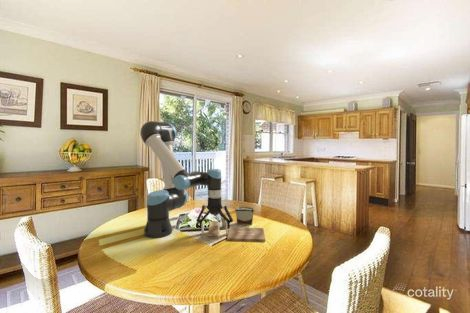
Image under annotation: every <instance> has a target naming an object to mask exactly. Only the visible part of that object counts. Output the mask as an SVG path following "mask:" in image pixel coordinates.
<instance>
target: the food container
mask: <svg viewBox="0 0 470 313" xmlns="http://www.w3.org/2000/svg"><path fill="white" fill-rule="evenodd" d="M234 212H235V215H236V216H235V217H236V225H250V226H252V225H253V219H254V213H255V209H254V208H253V207H251V206H244V205H243V206H238V207H236V208H235V209H234Z"/></svg>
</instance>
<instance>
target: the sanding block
mask: <svg viewBox="0 0 470 313" xmlns="http://www.w3.org/2000/svg"><path fill="white" fill-rule="evenodd" d="M209 222H210V223H209V226H208V238H211V239H212V238H214V239H216V238H219V235H220V221H215V220H213V221H209Z"/></svg>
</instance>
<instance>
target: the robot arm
mask: <svg viewBox="0 0 470 313" xmlns="http://www.w3.org/2000/svg"><path fill="white" fill-rule="evenodd" d="M139 133H140V138H141V140H142V142H143V143H144V145H145V146H147V147H149V148H150V149H151V150H152V151H153V153H154V154H155V155H156V158H158V160H159V161H160V165H161V170H162V175H163V182H164V187H163V188H162V189H160V190H155V191H151V192H150V193H148V194H147V196H146V198H147V199H146V211H147V212H146V213H147V214H146V216H147V217H146V218H147V220H146V224H145V228H144V234H143V235H144V236H145V237H146V238H153V239H156V238H164V237H167V236H169V235H171V234H172V233H173V226H172V224H171V221H170V220H171V219H170V212H171V211H173V210H176V209H179V208H182V207H184V206H185V205H186V204H187V202H188V200H189V199H188V198H189V196H188V192H187V189H190V188H195V187H198V186H205V187H206V186H207V204H203V205H202V206H201V210H200V212H199V215H197V218H196V219H195V220H196V223H197V222H198V223H199V229H201V235H204V232H205V229H204V228H205V224H204V221H205V219H206V218H207V217H208V216H209V215H210V214H212V215H213V214H215V215H217V214H218V215H220V216H221V217H222V219H223V220H224V221H225V222H226V223H225V236H228V232H229V228H230V227H231V223H233V221H234V219H233V217H232V215H231V213H230V211H229V209H228V205H227V204H225V205H222V170H221V169H218V168H209V169H208V170H207V171H206V172H205V171H199V170H198V171H197V170H196V171H191V172H190V173H189V172H188V171H187V170H186V169H185V168H184V166H183V164H182V163H180V161H179V160H178V159H177V157H176V156H175V152H174V147H173V145H174V143H175V139H176V137H177V130H176V128H175V126H174V125H173V124H171V123H170V122H166V121H164V122H163V121H162V122H161V121H152V120H151V121H150V120H149V121H147V122H145V123H143V125H142V126H141V128H140V132H139ZM206 209H207V210H208V211H207V212H206V213H205V214H204V215H203V213H204V212H205V210H206ZM222 209H223V210H224V212H223V211H222ZM202 215H203V217H202ZM201 217H202V218H201Z"/></svg>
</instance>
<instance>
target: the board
mask: <svg viewBox="0 0 470 313" xmlns="http://www.w3.org/2000/svg"><path fill="white" fill-rule="evenodd" d="M226 241H234V242H261V243H262V242H266V235H265V230H264V228H263V227H234V226H233V227H231V226H230V228H229V229H228V235H227V240H226Z"/></svg>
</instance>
